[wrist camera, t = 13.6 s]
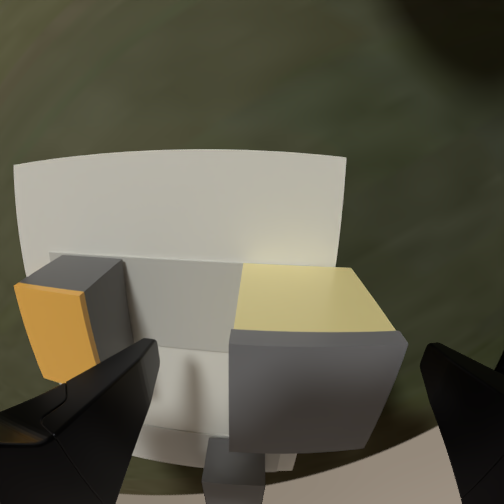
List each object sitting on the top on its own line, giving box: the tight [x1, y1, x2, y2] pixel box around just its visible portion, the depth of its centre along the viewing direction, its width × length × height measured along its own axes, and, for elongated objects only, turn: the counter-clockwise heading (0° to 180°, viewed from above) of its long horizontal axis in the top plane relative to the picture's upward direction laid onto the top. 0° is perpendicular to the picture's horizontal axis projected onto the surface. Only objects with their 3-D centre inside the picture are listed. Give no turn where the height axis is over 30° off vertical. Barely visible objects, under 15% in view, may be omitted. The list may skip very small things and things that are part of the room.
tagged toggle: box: [14, 255, 134, 384], centre depth 10 cm, size 3×4×3 cm
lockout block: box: [229, 263, 408, 454], centre depth 9 cm, size 4×4×5 cm
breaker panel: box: [14, 149, 346, 472], centre depth 13 cm, size 14×18×2 cm
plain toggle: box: [202, 438, 265, 504], centre depth 13 cm, size 3×4×3 cm
